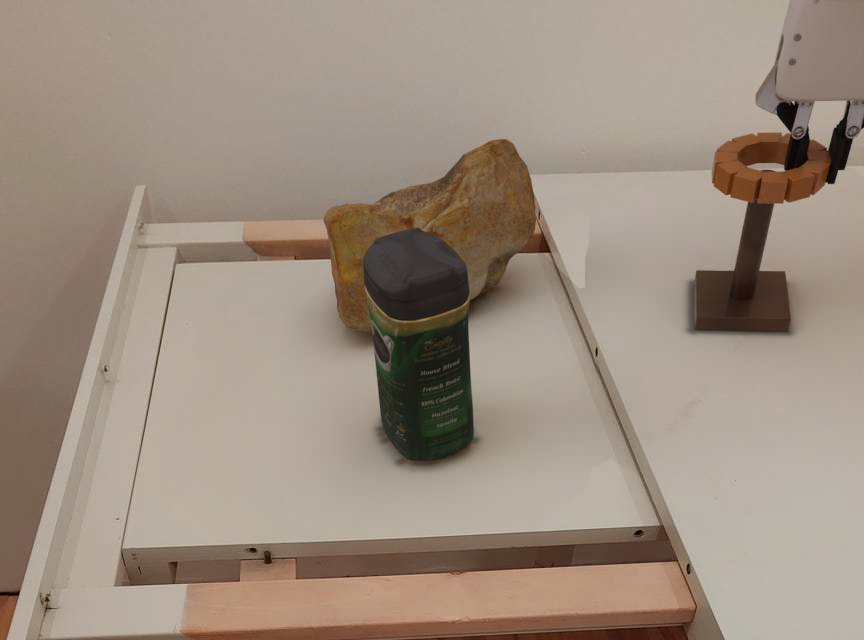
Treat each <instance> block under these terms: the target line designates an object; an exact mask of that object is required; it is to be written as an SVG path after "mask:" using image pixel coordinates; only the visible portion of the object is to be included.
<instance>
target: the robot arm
mask: <svg viewBox="0 0 864 640" xmlns="http://www.w3.org/2000/svg"><path fill="white" fill-rule="evenodd" d="M754 101H755V105H756V107H758V108H760V109H762V110H764V111H766V112H768V113H770V114H771V115H775V116H777V117H778V119H779V120H780V121H781V123H782V124H783V125H784V126H785V128H786V129H787V130H788V131H789V134H791V135H790V140H789V144H788V149H787V153H786V158H785V163H784V165H783V170H784V171H788V170H791V169H795V168H799V167H801V166H802V165H803V164H804V163H805V160H806V156H807V152H808V148H809V144H810V140H811V138H810V133H809V132H810V128H809V124H810V119H811V116H812V112H813V109H814V105H815V102H840V101H841V102H842V101H843V102H845V106H844V111H843V115H842V118H841V119H840V121H839V122H838V124H836V126H835V127H833V131H832V134H831V138H830V141H829V146H828V148H827V150H829V153H830V158H831V164H830V167H829V171H828V175H827V179H826V183H827V185H835V184H836V181H837V177H838V173H839V171H845V170H846V167H847V163H848V159H849V156H850V152H851V148H852V145H853V141H854V139H855V138H857V137H858V136H859V135H860V133H861V131H862V130H863V129H864V0H789V2H788V6H787V10H786V13H785V17H784V21H783V25H782V28H781V33H780V36H779V40H778V44H777V48H776V52H775V57H774V63H773V66H772V67H771V69H770V71H769V72H768V74H767V76H766V77H765V79H764V80H763V81H762V83H761V85H760V86H759V88H758V89H757V91H756V92H755V95H754ZM826 183H825V184H826Z"/></svg>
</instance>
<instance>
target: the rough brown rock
mask: <svg viewBox="0 0 864 640" xmlns="http://www.w3.org/2000/svg"><path fill="white" fill-rule="evenodd" d="M536 208H537V207H536V202H535V193H534V189H533V182H532V178H531V174H530V171H529V167H528V165H527V163H526V162H525V161H524V160H523V158H522V157H521V156H520V154H519V152H518V149H517V147H516V146H515V144H514V143H513V141H510V140H509V139H507V138H499V139H492V140H489V141H487V142H485V143H483V144H482V145H480V146H478V147H476V148H474V149H471V150H470V151H467V152H466V153H464V154H462V156H461V157H460V158H459V159H458V161H457V162H455V164H454V165H453V166H452V167H451V168H450V169H449V170H448V172H447V173H446V174H445V175H444V176H442V177H441V178H439V179H437V180H434V181H432V182H428V183H423V184H417V185H409V186H407V187H405V188H401V189H399V190H395V191H392V192H390V193H388V194H387V195H385V196H382V197H381V198H380V199H379V200H378V201H376V202H374V203H372V204H368V203H360V202H359V203H345V204H342V205H333V206H331V207H330V208H328V209H327V211H326V212H325V214H324V216H323V224H324V226H325V228H326V233H327V239H328V244H329V256H330V258H329V259H330V267H331V276H332V279H333V283H334V291H335V292H334V293H335V294H334V295H335V298H336V310H337V313H338V317H339V319H340V320H341V322H342V324H343V325H344V326H345V327H346V328H348V329H349V330H357V331H362V332H366V333H369V334H371V335H372V327H371V320H370V313H369V308H368V303H367V297H366V292H365V285H364V267H363V262H364V257H365V254H366V252H367V250H368V249H369V248H370V246H371V245H372V244H373V243H374V241H375V240H376V238H379V237H382V236H385V235H388V234H392V233H396V232H399V231H403V230H407V229H412V228H420V229H421V230H422V231H425V232H428V233H430V234H433V235H435V236H437V237H439V238H441V239H442V240H444V241H445V242H446V243H447V244H448V245H449V246H450V247H451V248H452V249H453V250H454V251H455V252H456V253H457V254H458V255H459V256H460V257H461V259H462V260H463V261H464V263H465V264H466V267H467V273H468V282H469V293H470V301H472V300H474V299H475V298H476V297H478V296H479V295H480V294H481V293H485V292H487V291H490V290H491V289H494V288H495V287H496V286H497V285H498V284H499V283H500V282H501V281H502V278H503V276H504V274H505V272H506V270H507V266H508V264H509V262H510V261H511V259H512V258H513V257H514V256H515V255H517V254H519V253H521V251H522V250H523V248H524V247H525V246H526V244H527V243H528V241H529V240H530V239H532V238H533V237H534V233H535V231H536V224H537V217H536Z"/></svg>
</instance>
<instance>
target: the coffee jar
mask: <svg viewBox="0 0 864 640" xmlns="http://www.w3.org/2000/svg"><path fill="white" fill-rule="evenodd" d="M363 267H364V285H365V292H366V297H367V303H368V308H369V313H370V320H371V327H372V334H371V335H372V342H373V343H372V344H373V352H374V353H373V354H374V361H375V370H376V372H375V373H376V382H377V389H378V390H377V393H378V403H379V414H380V421H381V424H382V428H383V430H384V432H385V434H386V436H387V438H388V439H389V441H390V442H391V444H392V445H393V446H394V448H395V449H396V450H397V451H398V452H399V454H401V456H403V458H404V459H407V460H409V461H413V462H435V461H440V460H443V459H447V458H450V457H451V456H454V455H456V454H458V453H459V452H461V451H463V450H465V449H466V448H467V447H468V446H470V444H471V443H472V442H473V439H474V436H475V425H474V424H475V422H474V404H473V403H474V402H473V390H472V375H471V355H470V353H471V351H470V334H469V333H470V332H469V315H470V314H469V313H470V312H469V311H470V303H471V300H470V293H469V282H468V273H467V267H466V264H465V263H464V261H463V260H462V259H461V257H460V256H459V255H458V254H457V253H456V252H455V251H454V250H453V249H452V248H451V247H450V246H449V245H448V244H447V243H446V242H445V241H444V240H442V239H441V238H439V237H437V236H435V235H433V234H430V233H428V232H425V231H422V230H421V229H420V228H412V229H407V230H403V231H399V232H396V233H392V234H388V235H385V236H382V237H379V238H376V240H375V241H374V243H373V244H372V245H371V246H370V248H369V249H368V250H367V252H366V254H365V257H364V262H363Z"/></svg>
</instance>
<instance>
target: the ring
mask: <svg viewBox="0 0 864 640" xmlns="http://www.w3.org/2000/svg"><path fill="white" fill-rule="evenodd" d="M790 135H791V133H790V132H786V133H785V134H784V135H783V132H780V131H779V132H757V133H756V134H754V133H748V134H744V135H741V136H737V137H733V138H731V140H727V141H725V142H724V143H723V144H721V145H720V146H719V147H717V149H716V151H714V157H713V161H712V169H711V184H713V187H714V188H715V189H717V190H718V191H719V192H720V193H722V194H723V195H724V196H729V195H730V198H732V199H735V200H739V201H742V202H747V203H748V202H750V203H753V202H754V201H755V200H756V199H757V202H758V204H774V205H777V204H779V205H780V204H784V202H787V203H793V202H797V201H801V200H804V199H807V198H808V199H809V198H810V197H811V196H815V195H816V194H817V193H818V192H819V191H820V190H821V189H823V188H824V186H826V179H827V175H828V171H829V167H830V164H831V158H830V153H829V150H828V148H827V147H826V146H825V145H824V144H822V143H820V142H818V141H817V140H815V139H810V144H809V148H808V152H807V156H806V160H805V163H804V164H803V165H802V166H801V167H799V168H795V169H791V170H788V171H785V170H784V171H776V172H764V171H760V170H761V169H760V170H759V169H755V168H752V167H749V166H752V165H756V164H777V165H781V166H784V163H785V158H786V153H787V149H788V144H789V140H790Z"/></svg>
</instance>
